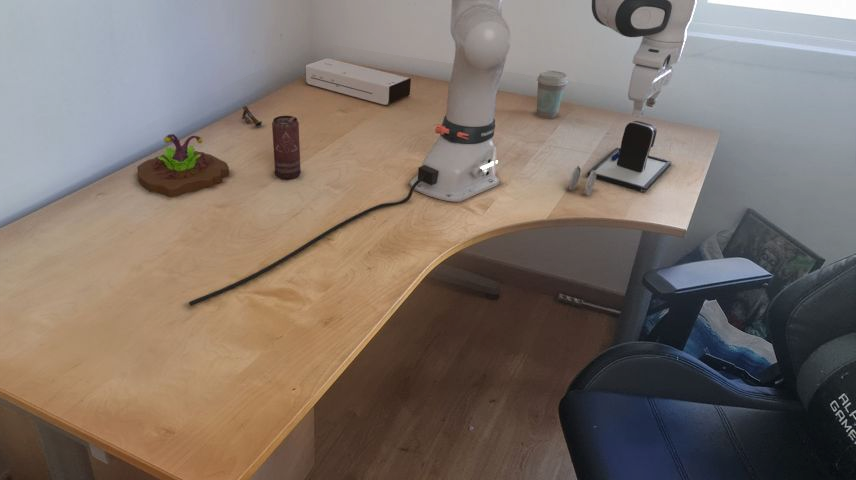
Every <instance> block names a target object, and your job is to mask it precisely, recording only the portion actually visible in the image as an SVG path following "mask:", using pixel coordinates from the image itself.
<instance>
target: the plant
mask: <svg viewBox="0 0 856 480" xmlns="http://www.w3.org/2000/svg"><path fill="white" fill-rule="evenodd" d="M192 139H196V142H197V143H198V144H202V143H203V139H202V137H201V136H197V135H192V136H189V137H188V138H187V139H186V140H185V141H184V143H183V144H182V145H181V143H180V139H179V138H178V137H177V136H176V135H175V133H174V134H173V133H170V134H168V135H166V136H165V137H164V138H163V141H164V142H165V143H166V144H169V143H173V144H174V146H175V148H171V147H165V152H162V154H161V155H159V156H156V157H154V158H150V159H147V160H145V161H143V162H142V163H141V164H138V165H137V166H136V168H137V176H138V177H137V178H138V182H139V184H140V185H141V187H143V188H145V190H147V191H149V192H152V193H160V194H163V195H164V196H167V197H168V198H173V197H180V196H183V195H185V194H189V193H194V192H197V191H200V190H203V189H205V188H214V186H215V185H218V184H219V185H220V184H222V182H223V178H226V177H229V174H230V171H229V165H228V163H227V162H226V161H224V160H222V159H220V158H218V157H216V156H214V155H212V154H210V153H205V152H204V151H197V150H196V148H195V146H194V145H190V146H189V144H190V142H191V140H192Z"/></svg>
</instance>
